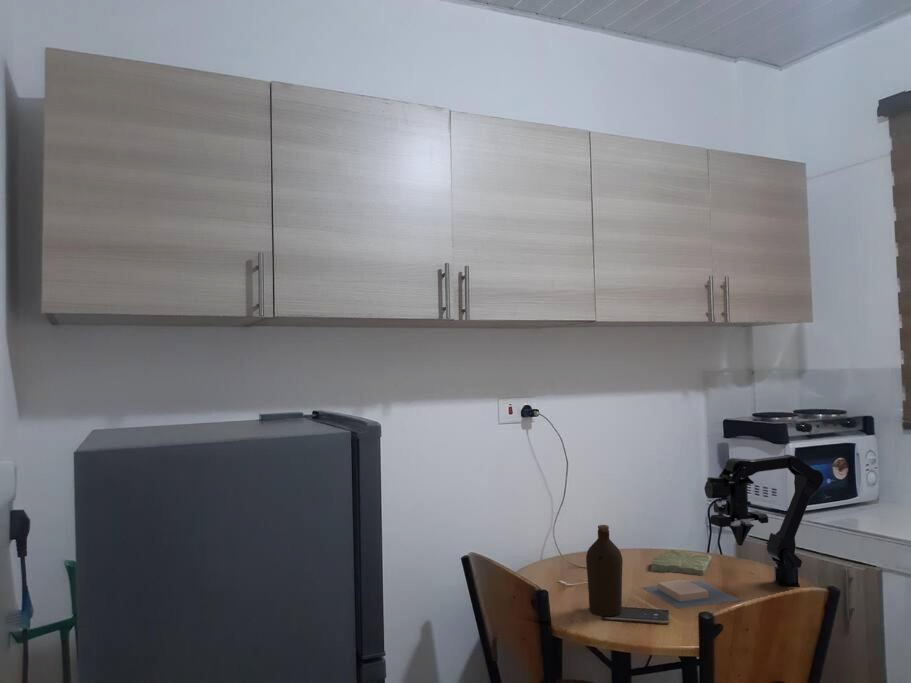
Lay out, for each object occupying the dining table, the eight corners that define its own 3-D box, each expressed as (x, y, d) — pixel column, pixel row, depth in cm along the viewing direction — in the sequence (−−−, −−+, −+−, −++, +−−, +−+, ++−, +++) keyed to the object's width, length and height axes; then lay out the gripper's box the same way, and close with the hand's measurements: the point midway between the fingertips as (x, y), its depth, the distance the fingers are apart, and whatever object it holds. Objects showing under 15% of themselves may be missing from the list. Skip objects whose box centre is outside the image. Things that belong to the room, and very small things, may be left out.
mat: (700, 582, 227) (700, 580, 227) (740, 602, 207) (740, 600, 207) (641, 589, 221) (641, 587, 221) (677, 610, 201) (677, 608, 201)
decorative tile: (712, 563, 249) (712, 553, 250) (704, 578, 232) (704, 568, 232) (660, 557, 258) (660, 547, 258) (648, 572, 240) (648, 561, 241)
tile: (685, 579, 221) (657, 582, 218) (708, 590, 209) (679, 594, 206) (685, 586, 220) (658, 590, 218) (708, 598, 209) (680, 602, 206)
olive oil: (629, 616, 197) (626, 529, 198) (593, 618, 196) (591, 531, 197) (616, 603, 208) (614, 521, 209) (582, 605, 207) (580, 522, 208)
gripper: (745, 491, 234) (747, 537, 233) (698, 495, 229) (700, 541, 228) (768, 497, 223) (770, 545, 223) (720, 501, 218) (721, 550, 218)
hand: (739, 545), depth 223 cm, fingers closed
